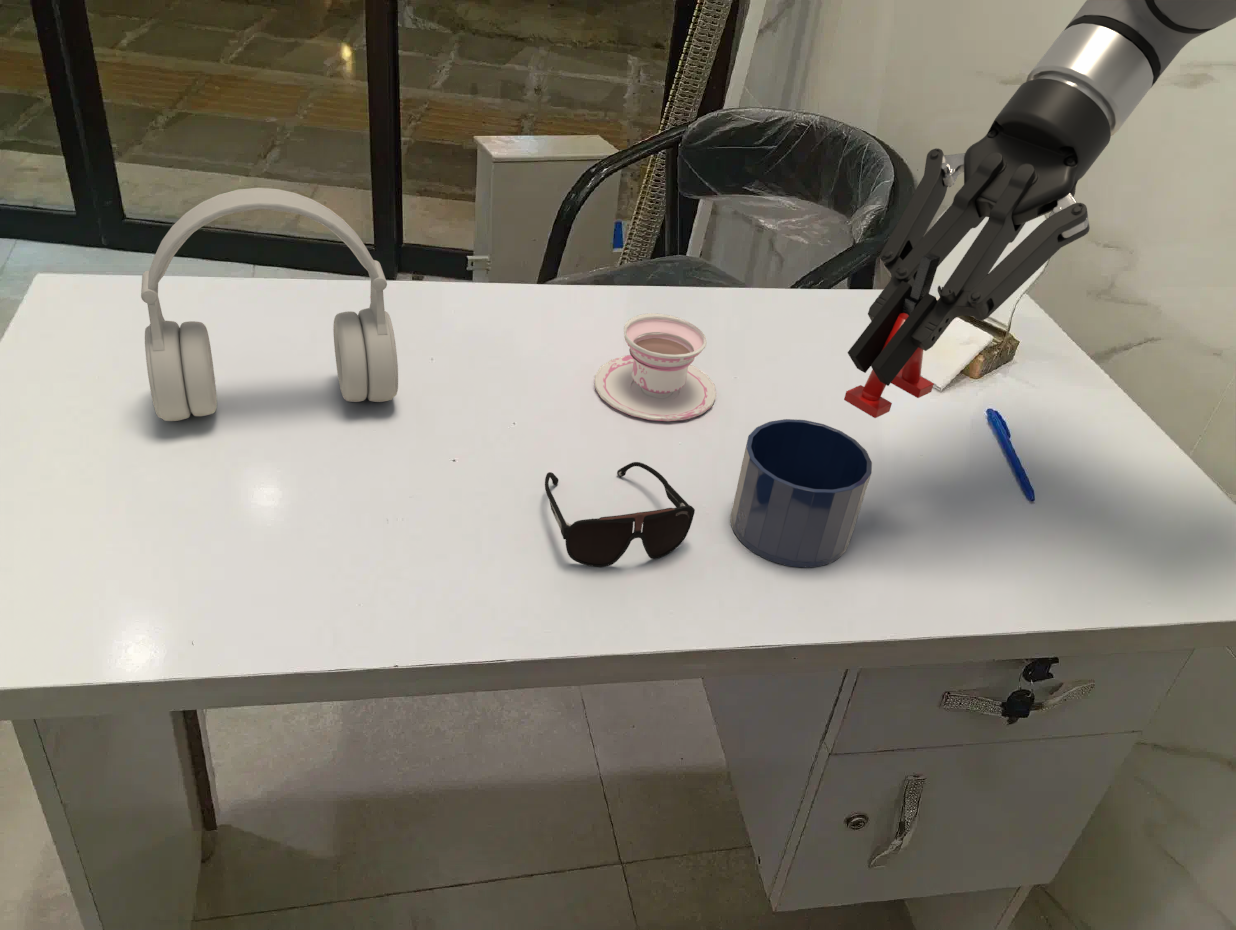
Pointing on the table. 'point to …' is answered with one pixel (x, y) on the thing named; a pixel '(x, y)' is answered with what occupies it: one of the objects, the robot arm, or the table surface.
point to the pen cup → (799, 492)
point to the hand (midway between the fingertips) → (868, 369)
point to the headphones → (185, 351)
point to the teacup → (658, 371)
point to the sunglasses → (624, 528)
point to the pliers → (911, 371)
